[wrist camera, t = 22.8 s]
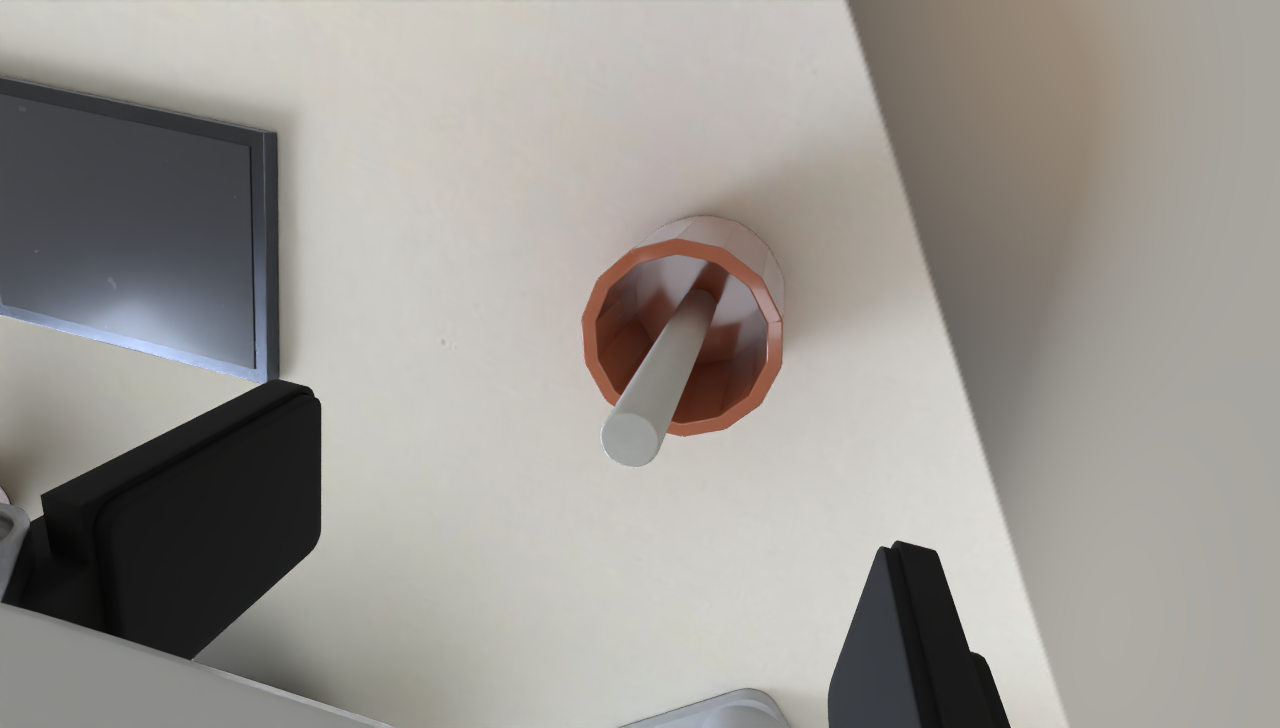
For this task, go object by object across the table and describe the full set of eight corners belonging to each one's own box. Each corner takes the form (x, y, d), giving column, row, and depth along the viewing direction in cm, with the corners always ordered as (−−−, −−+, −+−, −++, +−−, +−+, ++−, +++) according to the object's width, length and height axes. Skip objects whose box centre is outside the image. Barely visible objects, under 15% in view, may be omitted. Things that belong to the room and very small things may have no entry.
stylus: (688, 280, 29) (604, 405, 16) (722, 287, 28) (665, 420, 15) (682, 312, 29) (595, 459, 16) (714, 320, 29) (653, 475, 16)
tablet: (-26, 69, 33) (-47, 68, 32) (276, 132, 31) (263, 132, 30) (10, 310, 37) (-7, 314, 36) (279, 380, 35) (267, 385, 34)
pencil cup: (640, 200, 28) (595, 221, 22) (803, 234, 28) (808, 266, 21) (614, 350, 31) (567, 408, 24) (764, 385, 30) (757, 456, 23)
